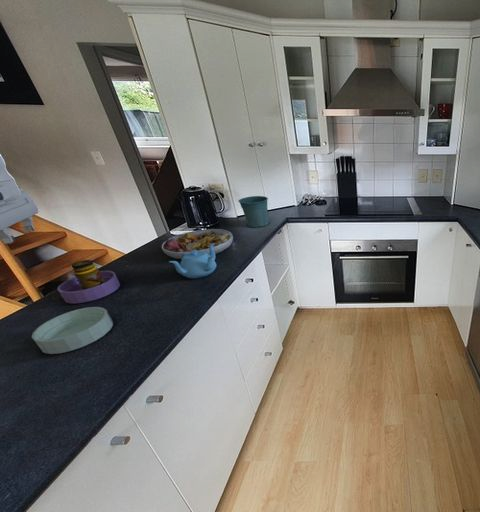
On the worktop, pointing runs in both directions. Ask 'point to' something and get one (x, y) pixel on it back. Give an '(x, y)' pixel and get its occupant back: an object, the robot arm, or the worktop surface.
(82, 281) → the condiment
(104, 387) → the worktop surface
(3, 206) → the robot arm
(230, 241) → the bowl
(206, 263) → the teapot
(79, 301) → the lavender bowl
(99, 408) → the worktop surface
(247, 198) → the flower pot
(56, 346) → the celadon bowl
